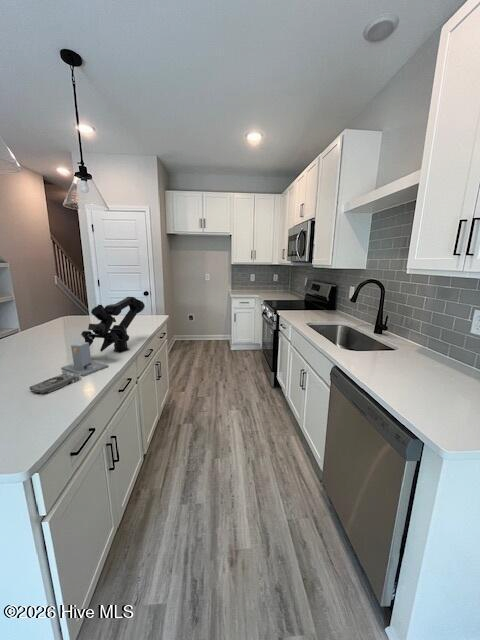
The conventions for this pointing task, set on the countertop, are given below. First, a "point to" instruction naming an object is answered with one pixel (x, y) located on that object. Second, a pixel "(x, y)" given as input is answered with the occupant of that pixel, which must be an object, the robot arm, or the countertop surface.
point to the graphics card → (56, 382)
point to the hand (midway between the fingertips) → (93, 350)
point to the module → (81, 355)
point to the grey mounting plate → (86, 368)
